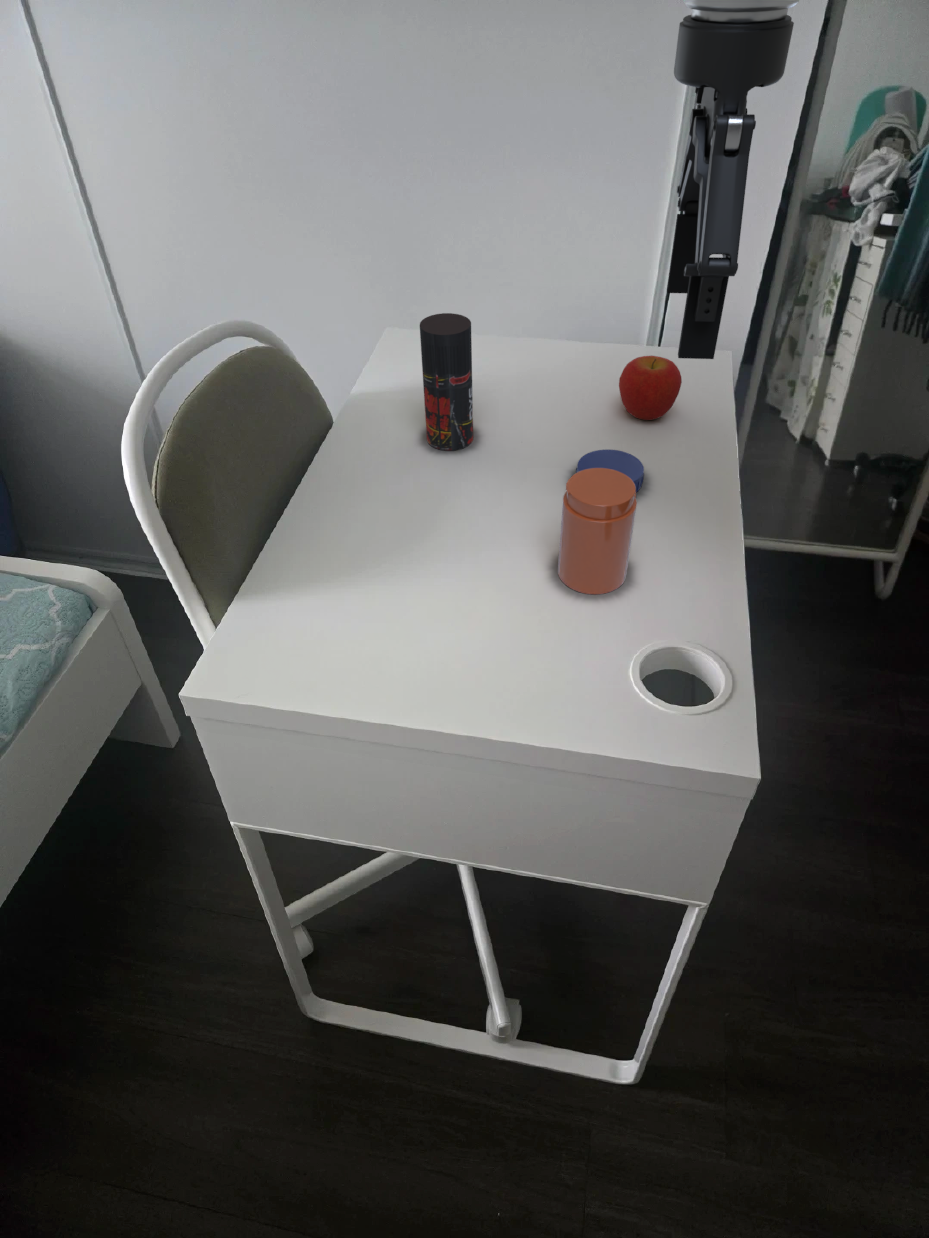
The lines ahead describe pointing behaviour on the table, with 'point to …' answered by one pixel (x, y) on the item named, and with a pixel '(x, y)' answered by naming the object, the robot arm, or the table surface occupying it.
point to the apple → (649, 386)
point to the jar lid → (614, 464)
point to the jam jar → (596, 530)
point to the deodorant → (447, 380)
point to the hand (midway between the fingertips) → (688, 322)
